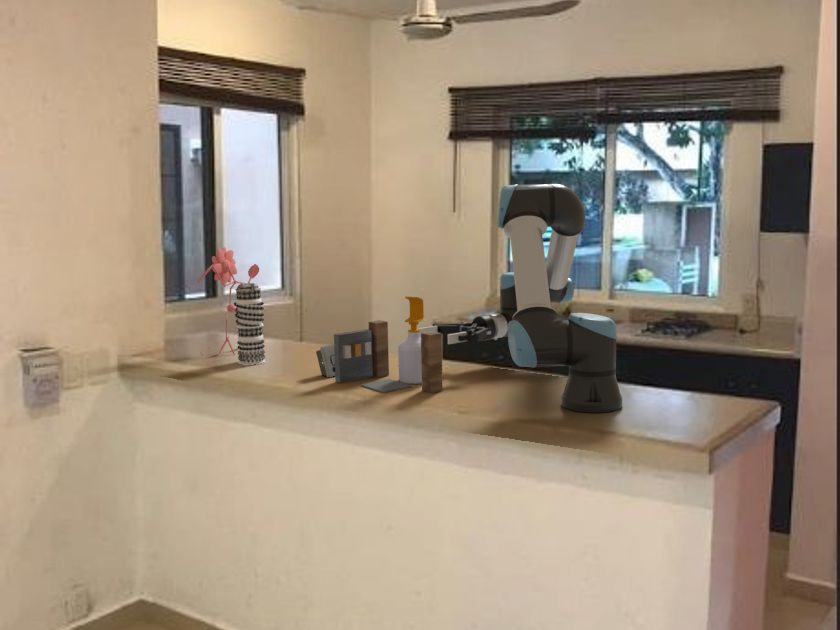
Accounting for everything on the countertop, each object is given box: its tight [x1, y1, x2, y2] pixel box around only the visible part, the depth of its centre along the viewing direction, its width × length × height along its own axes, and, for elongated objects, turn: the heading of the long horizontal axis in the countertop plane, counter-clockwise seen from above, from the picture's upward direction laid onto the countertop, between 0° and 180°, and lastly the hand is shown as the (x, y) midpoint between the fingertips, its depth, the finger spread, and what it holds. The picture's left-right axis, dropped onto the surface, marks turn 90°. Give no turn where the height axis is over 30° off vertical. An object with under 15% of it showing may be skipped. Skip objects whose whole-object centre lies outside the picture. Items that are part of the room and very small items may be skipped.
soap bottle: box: [397, 296, 425, 385], centre depth 269 cm, size 9×9×25 cm
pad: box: [360, 378, 413, 394], centre depth 266 cm, size 11×10×1 cm
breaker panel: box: [333, 328, 374, 384], centre depth 273 cm, size 4×12×14 cm, turn 128°
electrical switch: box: [315, 343, 335, 378], centre depth 282 cm, size 9×5×9 cm, turn 141°
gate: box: [368, 319, 443, 394], centre depth 268 cm, size 29×4×16 cm, turn 38°
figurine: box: [197, 246, 266, 355], centre depth 318 cm, size 15×26×35 cm, turn 150°
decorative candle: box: [233, 282, 266, 366], centre depth 299 cm, size 9×9×25 cm
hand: (433, 336), depth 274 cm, fingers open, 13 cm apart
